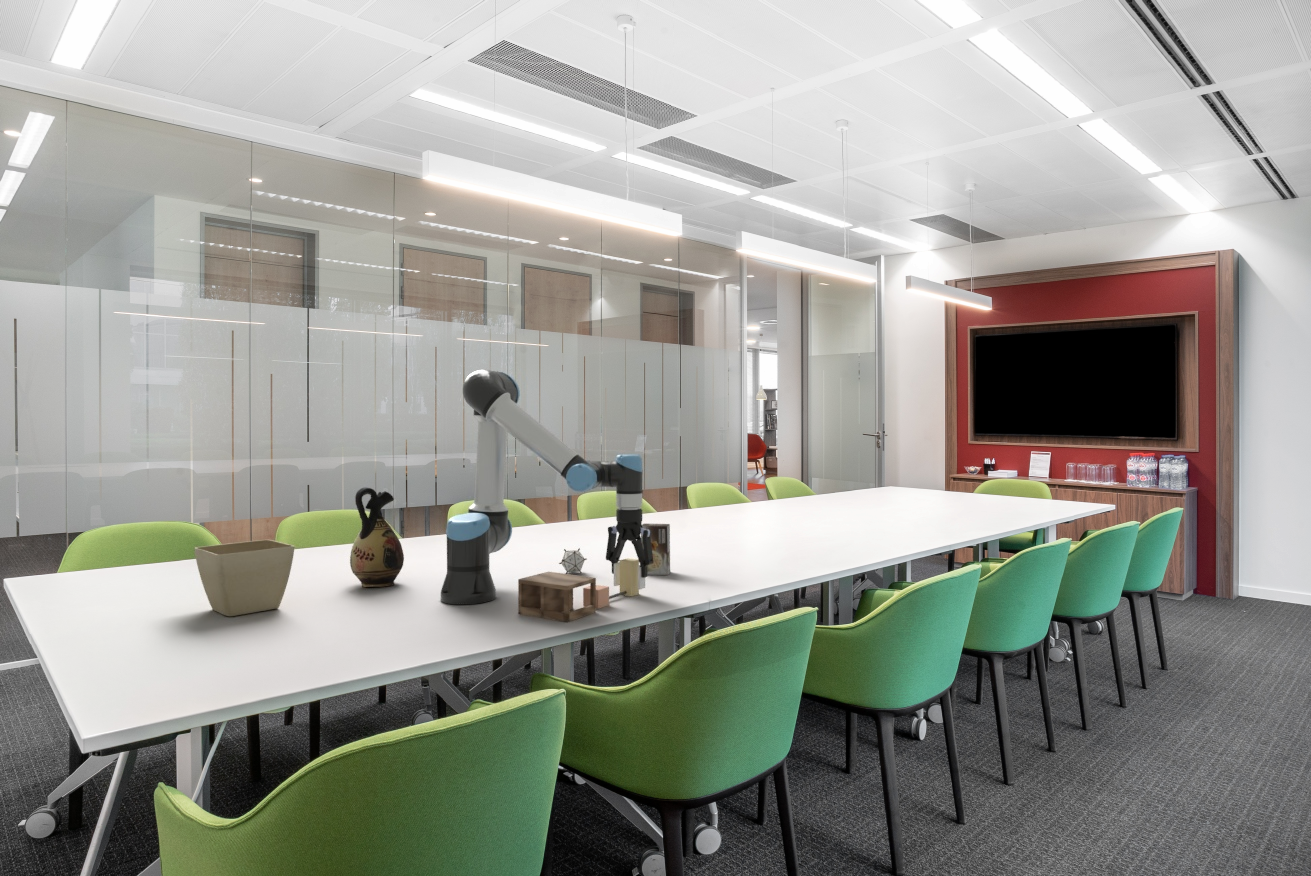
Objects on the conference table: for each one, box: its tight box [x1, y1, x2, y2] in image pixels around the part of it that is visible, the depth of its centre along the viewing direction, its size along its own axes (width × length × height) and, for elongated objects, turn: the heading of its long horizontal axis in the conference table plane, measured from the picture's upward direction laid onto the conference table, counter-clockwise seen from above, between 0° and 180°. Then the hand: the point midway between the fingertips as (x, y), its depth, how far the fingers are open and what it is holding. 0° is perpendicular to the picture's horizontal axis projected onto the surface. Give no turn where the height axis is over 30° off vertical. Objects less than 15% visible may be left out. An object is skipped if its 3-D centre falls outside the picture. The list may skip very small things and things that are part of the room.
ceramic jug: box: [349, 486, 405, 588], centre depth 234 cm, size 17×15×30 cm
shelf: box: [517, 571, 597, 623], centre depth 200 cm, size 12×16×9 cm
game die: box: [558, 547, 588, 574], centre depth 253 cm, size 9×8×10 cm
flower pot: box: [193, 539, 296, 617], centre depth 204 cm, size 19×19×17 cm
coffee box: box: [640, 523, 671, 576], centre depth 253 cm, size 9×6×16 cm
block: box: [582, 558, 640, 610], centre depth 215 cm, size 20×5×10 cm, turn 148°
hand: (629, 586), depth 222 cm, fingers open, 8 cm apart
